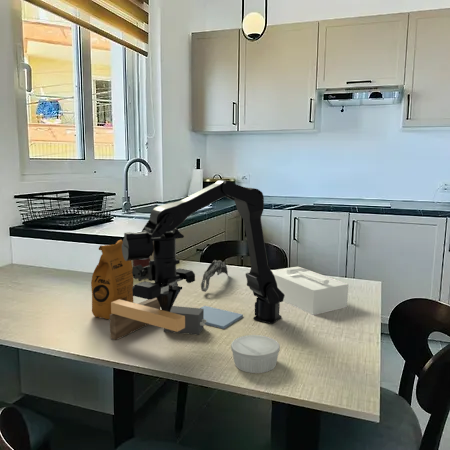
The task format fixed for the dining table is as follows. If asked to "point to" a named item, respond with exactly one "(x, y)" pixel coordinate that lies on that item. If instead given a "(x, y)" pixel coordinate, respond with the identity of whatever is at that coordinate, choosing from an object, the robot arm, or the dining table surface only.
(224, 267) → the grey curved piece
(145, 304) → the rail
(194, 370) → the dining table surface
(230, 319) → the pad
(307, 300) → the tissue box
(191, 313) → the charcoal wedge block
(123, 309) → the tan wooden bar
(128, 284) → the coffee package
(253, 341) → the ramekin
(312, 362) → the dining table surface
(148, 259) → the mate gourd
